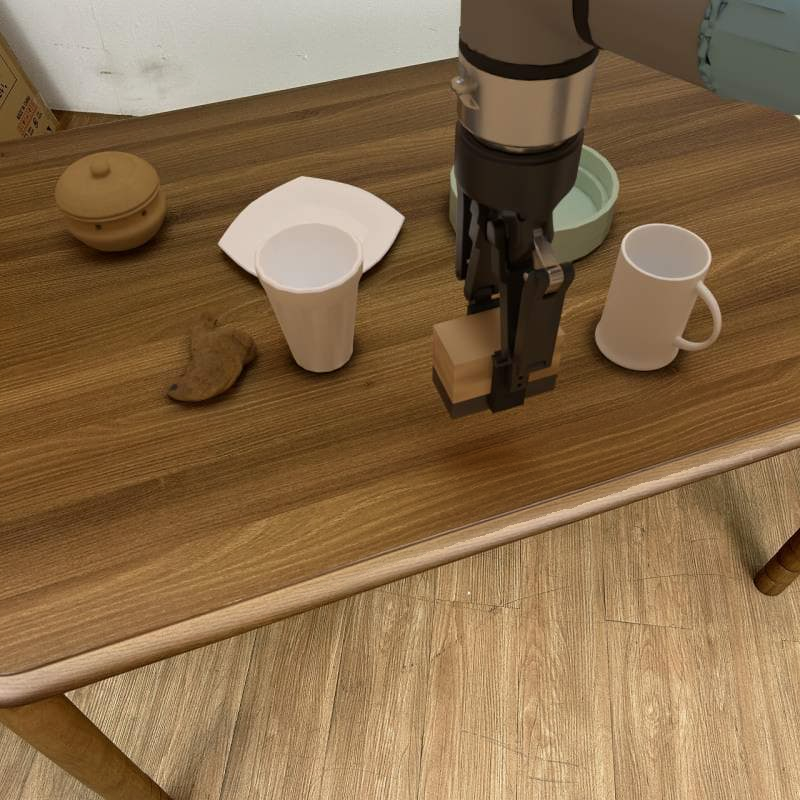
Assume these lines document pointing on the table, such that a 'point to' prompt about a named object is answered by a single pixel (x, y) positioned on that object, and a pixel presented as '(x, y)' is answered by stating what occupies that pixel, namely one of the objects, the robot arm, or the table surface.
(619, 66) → the table surface
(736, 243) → the table surface
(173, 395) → the ginger root
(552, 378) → the block
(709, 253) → the mug
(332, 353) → the cup
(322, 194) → the plate
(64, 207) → the pot
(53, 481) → the table surface
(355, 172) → the table surface
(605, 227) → the bowl
